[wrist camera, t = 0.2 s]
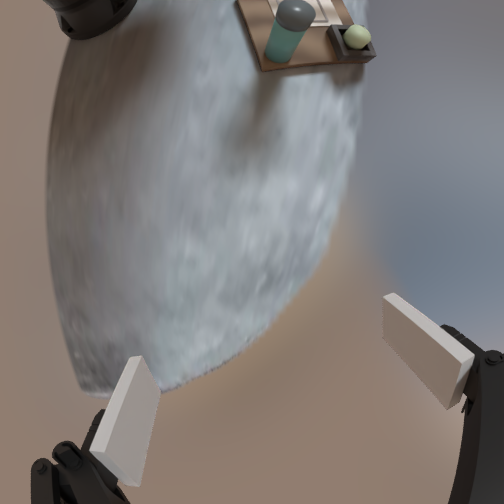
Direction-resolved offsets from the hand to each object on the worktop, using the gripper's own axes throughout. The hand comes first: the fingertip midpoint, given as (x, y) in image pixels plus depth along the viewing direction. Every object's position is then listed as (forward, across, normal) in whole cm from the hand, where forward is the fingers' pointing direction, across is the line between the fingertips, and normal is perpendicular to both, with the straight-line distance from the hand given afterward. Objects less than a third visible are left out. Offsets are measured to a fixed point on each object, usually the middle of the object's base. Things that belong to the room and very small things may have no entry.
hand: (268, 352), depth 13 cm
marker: (+26, +12, +27) cm, 39 cm away
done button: (+24, +24, +28) cm, 44 cm away
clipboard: (+27, +17, +32) cm, 46 cm away
